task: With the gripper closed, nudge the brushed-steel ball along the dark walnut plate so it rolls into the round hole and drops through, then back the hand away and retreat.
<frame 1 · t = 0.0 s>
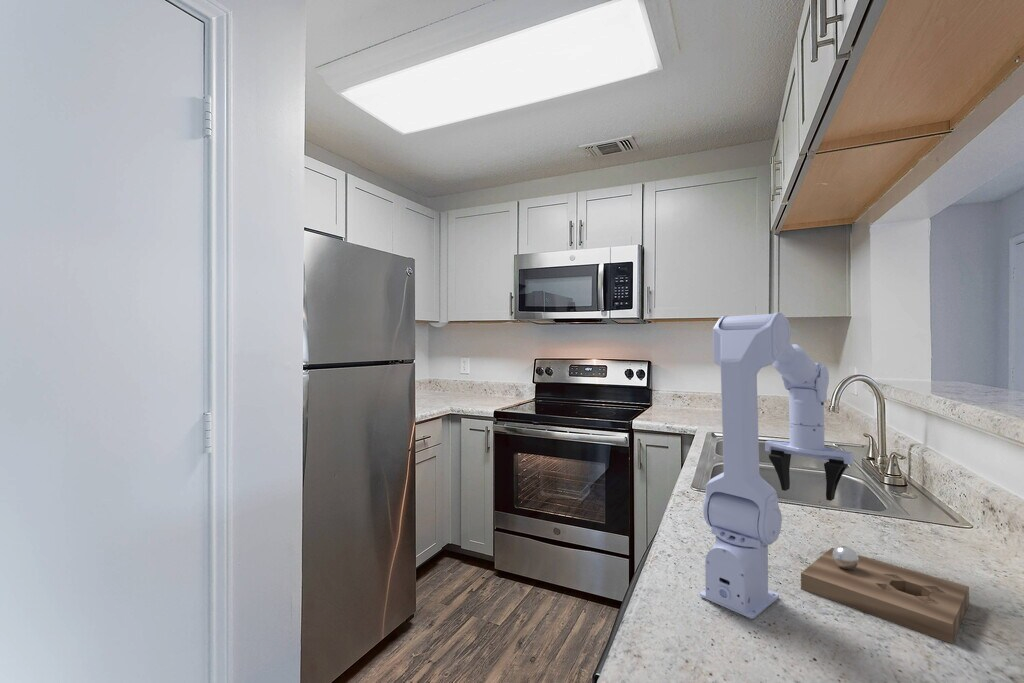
hand: (807, 494, 88), 10 cm above the counter, tool pointing down, fingers open, 7 cm apart
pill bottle: (725, 523, 101), on the counter
steel ball: (845, 557, 74), point 4 cm above the counter, touching walnut plate
walnut plate: (882, 595, 71), on the counter
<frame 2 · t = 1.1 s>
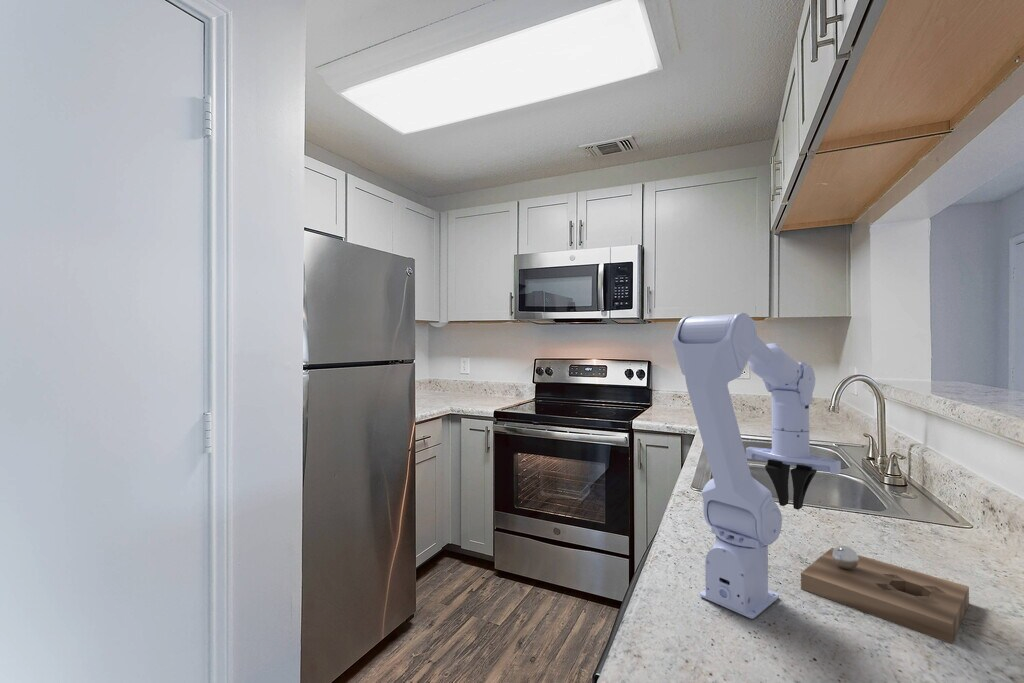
hand: (790, 506, 81), 10 cm above the counter, tool pointing down, fingers closed
nothing on the counter moved.
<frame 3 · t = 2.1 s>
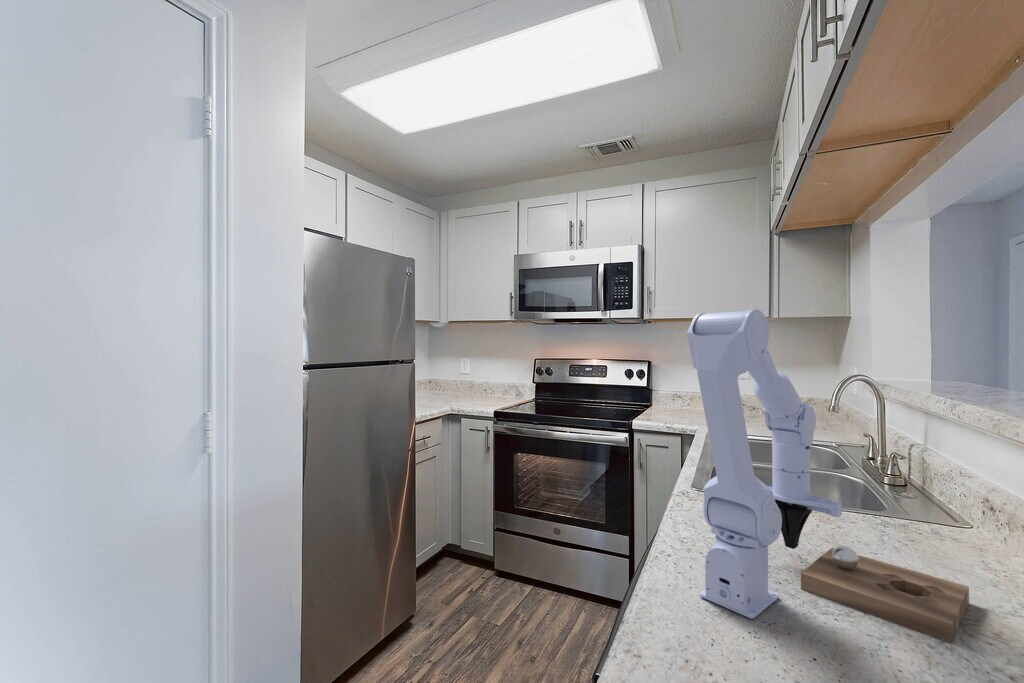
hand: (791, 546, 80), 3 cm above the counter, tool pointing down, fingers closed
nothing on the counter moved.
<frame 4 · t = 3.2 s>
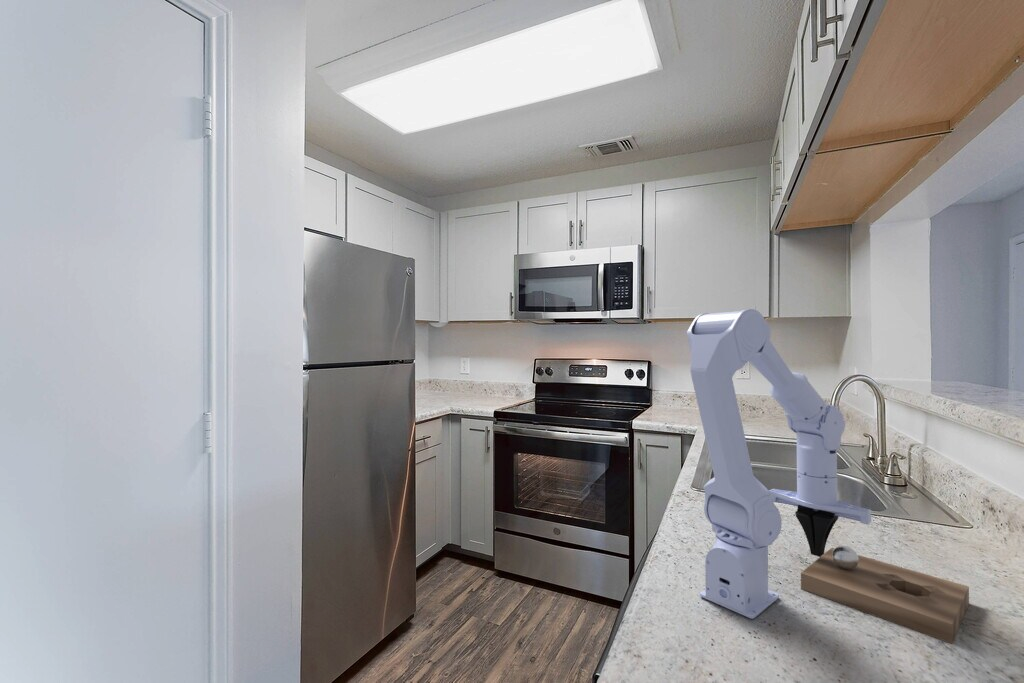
hand: (817, 554, 77), 3 cm above the counter, tool pointing down, fingers closed
nothing on the counter moved.
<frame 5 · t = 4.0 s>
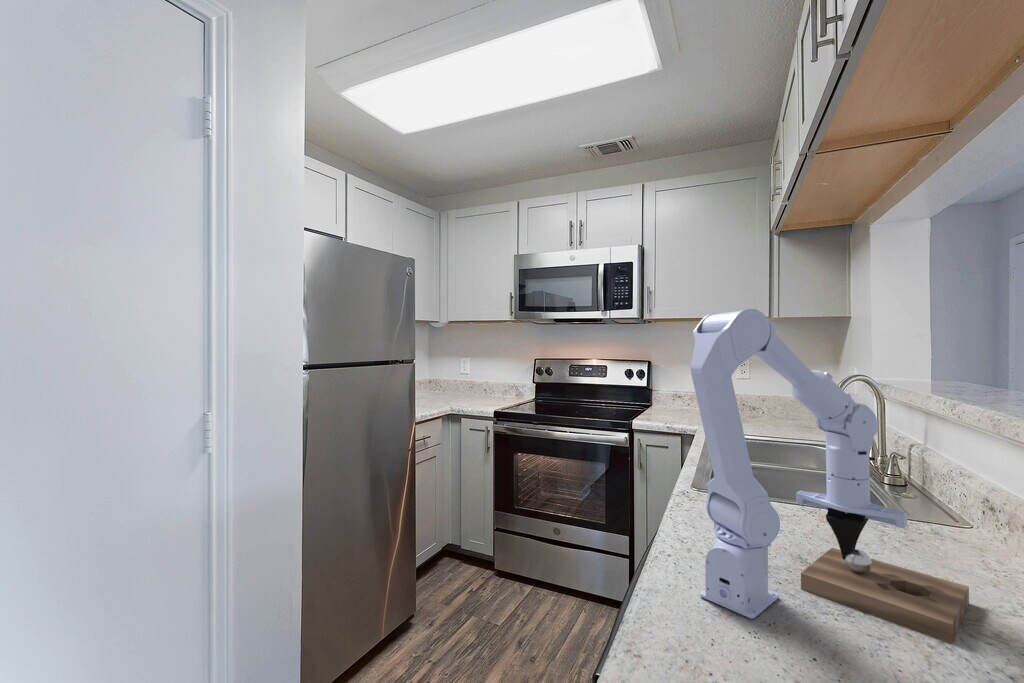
hand: (849, 558, 74), 4 cm above the counter, tool pointing down, fingers closed, pressing on steel ball
steel ball: (858, 561, 73), point 4 cm above the counter, tilted 55°, touching gripper, walnut plate
everything else where it was.
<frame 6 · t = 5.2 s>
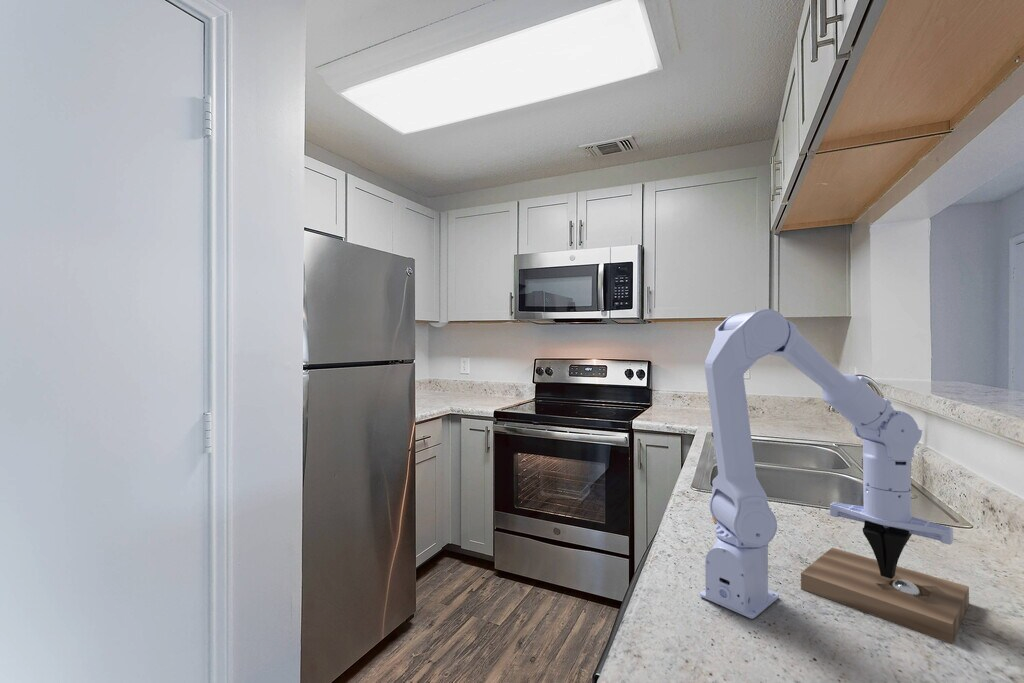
hand: (887, 575, 70), 3 cm above the counter, tool pointing down, fingers closed
steel ball: (905, 592, 68), point 2 cm above the counter, tilted 105°
everything else where it was.
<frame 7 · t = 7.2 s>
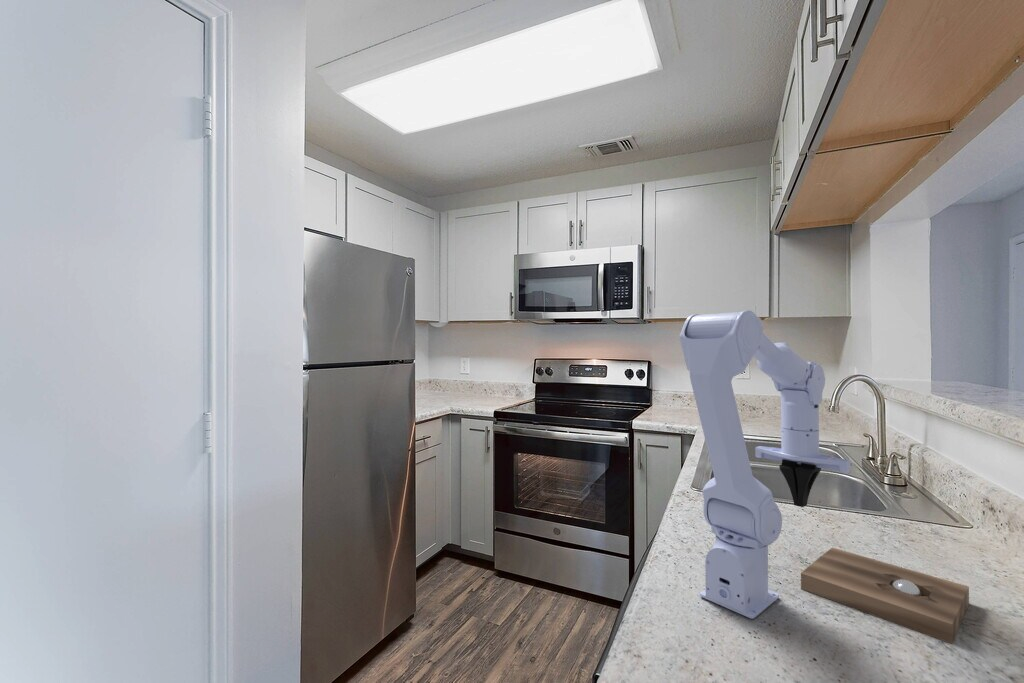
hand: (800, 505, 81), 10 cm above the counter, tool pointing down, fingers closed
nothing on the counter moved.
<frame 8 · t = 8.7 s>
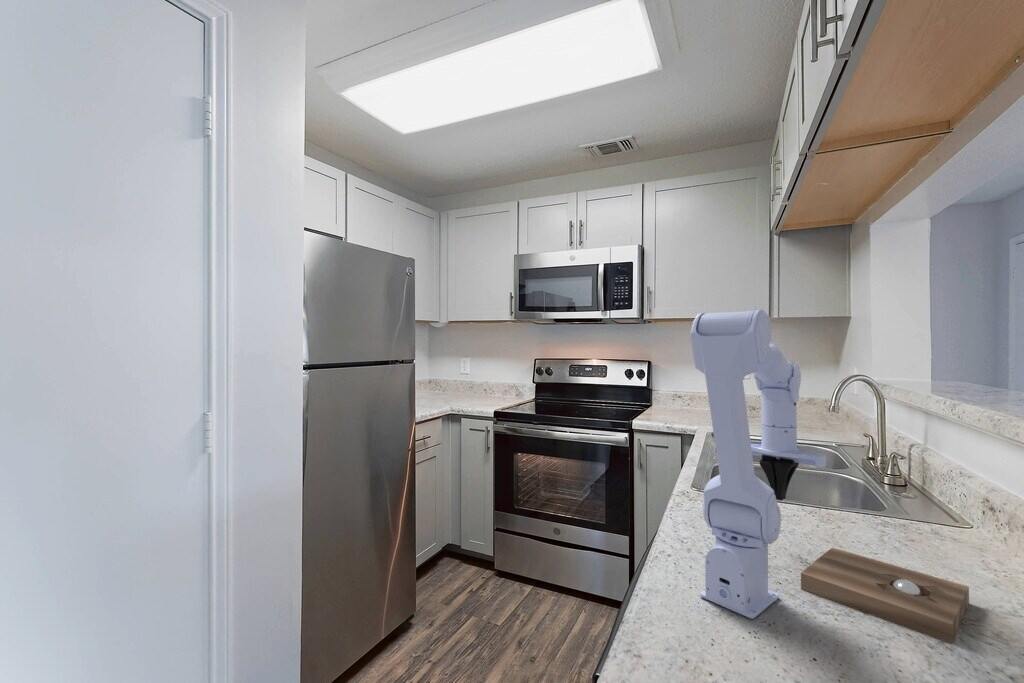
hand: (779, 498, 85), 10 cm above the counter, tool pointing down, fingers closed
nothing on the counter moved.
at the end: steel ball 0.4 cm from the target spot on the walnut plate, point 1.7 cm above the walnut plate's base; steel ball moved 8.1 cm from its start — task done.
